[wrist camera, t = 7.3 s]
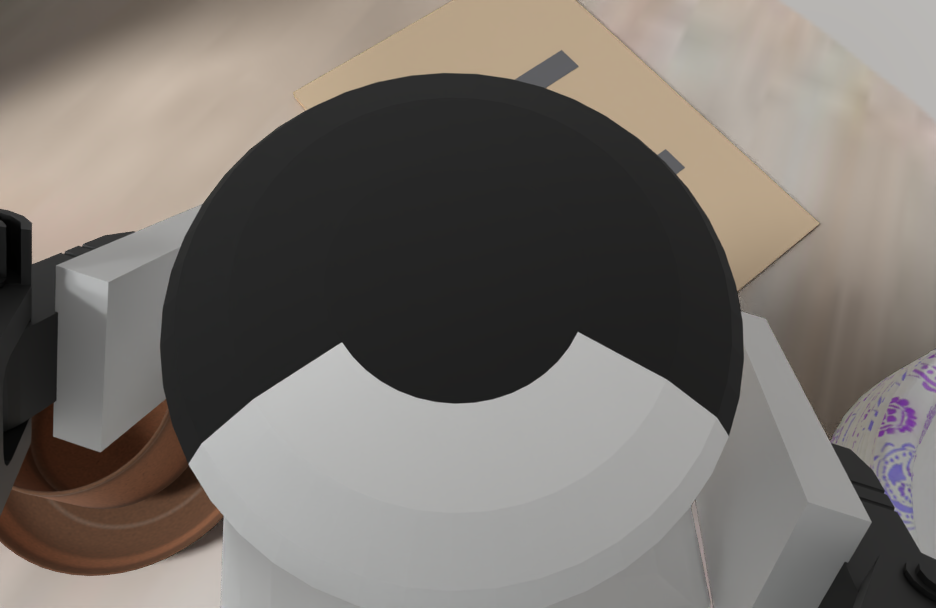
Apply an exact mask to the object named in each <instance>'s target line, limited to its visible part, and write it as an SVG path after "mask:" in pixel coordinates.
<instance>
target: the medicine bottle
mask: <svg viewBox="0 0 936 608" xmlns="http://www.w3.org/2000/svg"><path fill="white" fill-rule="evenodd" d="M160 355H161V368H162V381H163V389H164V393H165V397H166V401H167V405H168V409H169V414H170V418H171V422H172V426H173V428H174V431H175V433H176V436H177V438H178V440H179V443H180V445H181V448H182V450H183V453H184V455H185V457H186V460H187V462H188V464H189V466H190V468H191V469H192V471H193V473H194V474H195V476H196V478H197V479H198V481H199V482H200V484H201V486H202V487H203V489H204V491H205V492H206V494H207V495H208V497H209V499H210V500H211V502H212V503H213V504H214V505H215V506H216V507H217V509H218V510H219V511H220V512H221V513H222V514H223V516H224V521H223V549H222V578H221V606H220V608H710V598H709V593H708V589H707V584H706V579H705V574H704V569H703V564H702V559H701V554H700V550H699V545H698V540H697V535H696V530H695V525H694V520H693V515H692V510H691V505H692V504H693V502H694V500H695V499H696V497H697V496H698V494H699V493H700V491H701V490H702V488H703V487H704V485H705V484H706V482H707V481H708V479H709V478H710V476H711V475H712V473H713V471H714V468H715V466H716V464H717V462H718V459H719V457H720V455H721V453H722V451H723V448H724V446H725V444H726V442H727V440H728V437H729V434H730V431H731V427H732V424H733V420H734V416H735V413H736V409H737V405H738V402H739V398H740V390H741V381H742V373H743V364H744V344H743V320H742V315H741V309H740V304H739V298H738V293H737V287H736V283H735V280H734V277H733V274H732V271H731V268H730V265H729V262H728V259H727V256H726V253H725V250H724V248H723V246H722V244H721V242H720V240H719V238H718V236H717V234H716V232H715V230H714V228H713V226H712V224H711V222H710V220H709V218H708V217H707V215H706V214H705V212H704V211H703V209H702V208H701V206H700V205H699V203H698V202H697V200H696V199H695V197H694V196H693V194H692V193H691V191H690V190H689V188H688V187H687V186H686V185H685V184H684V183H683V182H682V180H681V179H680V178H679V177H678V176H677V175H676V174H675V173H674V171H673V170H672V169H671V168H670V167H669V166H668V165H667V163H666V162H665V161H664V160H662V159H661V158H660V157H659V156H658V155H657V154H656V153H655V152H653V151H652V150H651V149H650V148H649V147H648V146H647V145H645V144H644V143H643V142H642V141H641V140H640V139H639V138H637V137H636V136H634V135H633V134H631V133H630V132H629V131H627V130H626V129H624V128H623V127H621V126H620V125H618V124H617V123H615V122H614V121H613V120H611V119H610V118H608V117H607V116H605V115H603V114H601V113H599V112H598V111H596V110H594V109H592V108H590V107H588V106H586V105H584V104H582V103H580V102H579V101H577V100H575V99H572V98H570V97H567V96H565V95H562V94H559V93H557V92H554V91H552V90H549V89H546V88H544V87H540V86H536V85H533V84H529V83H525V82H521V81H517V80H514V79H509V78H502V77H495V76H488V75H481V74H463V73H436V74H424V75H411V76H406V77H401V78H395V79H390V80H385V81H380V82H376V83H373V84H370V85H366V86H363V87H360V88H357V89H354V90H351V91H348V92H345V93H342V94H340V95H338V96H336V97H334V98H331V99H329V100H327V101H325V102H322V103H320V104H318V105H316V106H314V107H312V108H310V109H308V110H306V111H304V112H303V113H301V114H300V115H298V116H296V117H295V118H293V119H291V120H290V121H288V122H286V123H285V124H283V125H281V126H280V127H278V128H277V129H275V130H274V131H273V132H272V133H270V134H269V135H268V136H266V137H265V138H264V139H263V140H261V141H260V142H259V143H258V144H256V145H255V146H254V147H252V148H251V149H250V150H249V151H248V152H247V153H246V154H245V155H244V156H243V157H242V158H241V159H240V160H239V161H238V162H237V163H236V164H235V165H234V166H233V167H232V168H231V169H230V170H229V171H228V172H227V173H226V174H225V175H224V177H223V178H222V179H221V181H220V182H219V183H218V185H217V186H216V187H215V188H214V190H213V191H212V192H211V194H210V195H209V196H208V198H207V199H206V200H205V202H204V203H203V204H202V206H201V208H200V210H199V212H198V213H197V215H196V217H195V219H194V220H193V222H192V224H191V226H190V228H189V229H188V231H187V233H186V235H185V237H184V239H183V242H182V244H181V247H180V250H179V252H178V255H177V257H176V260H175V262H174V265H173V268H172V270H171V274H170V278H169V283H168V287H167V291H166V296H165V300H164V305H163V311H162V324H161V338H160Z"/></svg>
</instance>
